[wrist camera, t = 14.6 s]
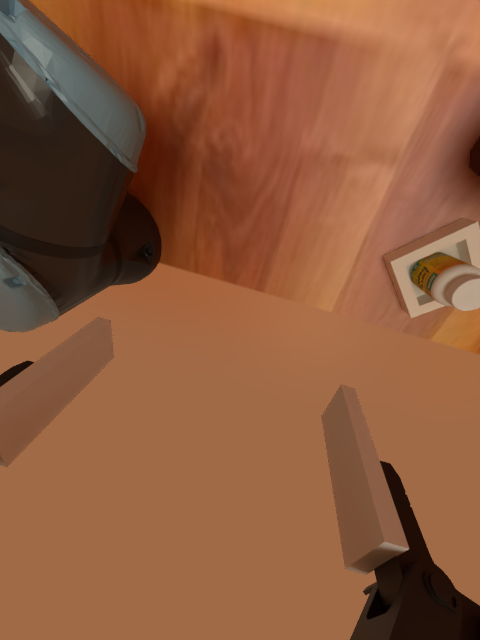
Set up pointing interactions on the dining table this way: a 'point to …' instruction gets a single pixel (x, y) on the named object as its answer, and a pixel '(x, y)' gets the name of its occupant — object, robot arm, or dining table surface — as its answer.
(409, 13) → the dining table surface
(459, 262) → the supplement bottle
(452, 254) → the holder
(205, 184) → the dining table surface
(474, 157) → the ice cream bowl
